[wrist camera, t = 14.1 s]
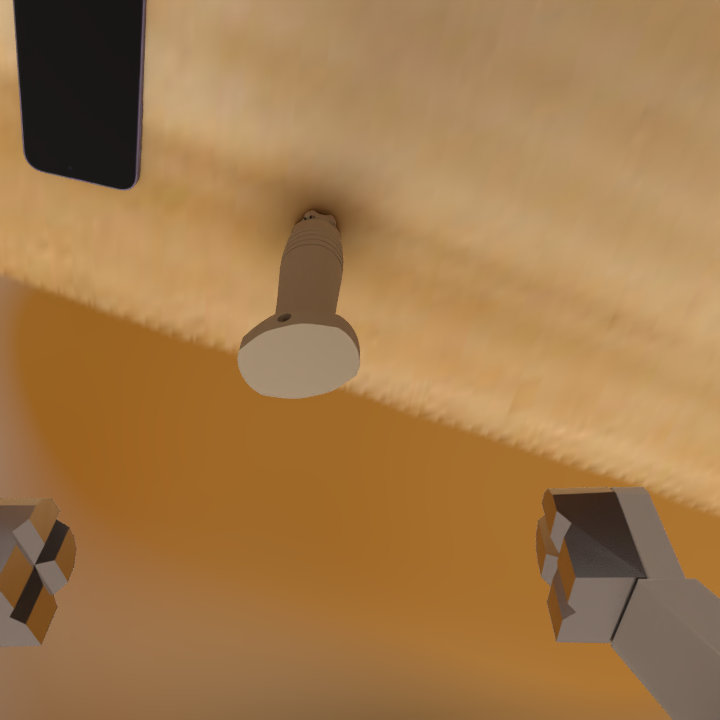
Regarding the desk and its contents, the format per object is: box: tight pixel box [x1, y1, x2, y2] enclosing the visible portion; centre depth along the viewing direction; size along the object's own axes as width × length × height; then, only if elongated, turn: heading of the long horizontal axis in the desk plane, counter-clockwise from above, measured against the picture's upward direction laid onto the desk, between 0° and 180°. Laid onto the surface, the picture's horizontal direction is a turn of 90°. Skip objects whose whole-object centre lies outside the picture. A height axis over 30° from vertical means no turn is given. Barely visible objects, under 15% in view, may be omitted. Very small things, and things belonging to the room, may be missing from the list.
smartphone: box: [13, 0, 146, 190], centre depth 38 cm, size 7×1×15 cm
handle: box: [238, 210, 360, 399], centre depth 39 cm, size 5×6×15 cm
